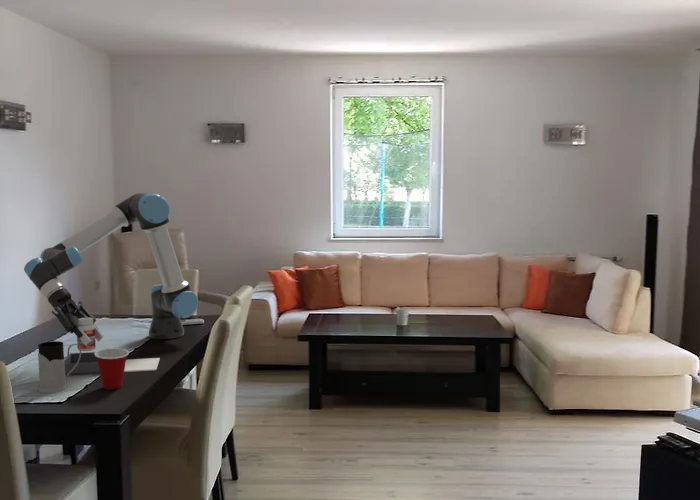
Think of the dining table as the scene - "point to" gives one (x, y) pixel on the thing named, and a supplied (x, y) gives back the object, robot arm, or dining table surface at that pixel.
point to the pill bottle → (89, 331)
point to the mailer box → (90, 366)
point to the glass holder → (53, 366)
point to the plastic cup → (111, 366)
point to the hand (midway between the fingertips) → (94, 341)
